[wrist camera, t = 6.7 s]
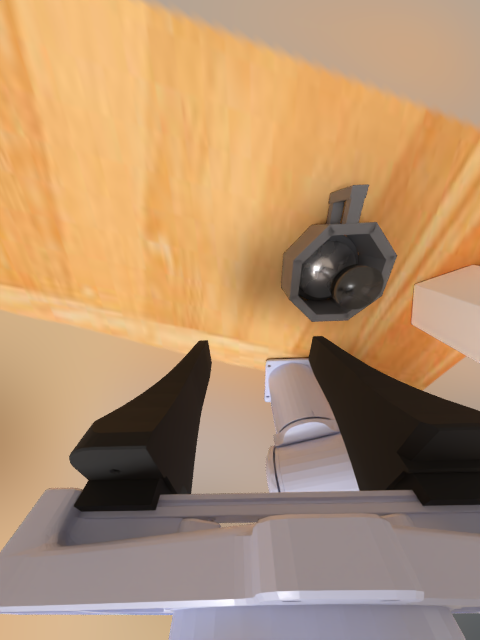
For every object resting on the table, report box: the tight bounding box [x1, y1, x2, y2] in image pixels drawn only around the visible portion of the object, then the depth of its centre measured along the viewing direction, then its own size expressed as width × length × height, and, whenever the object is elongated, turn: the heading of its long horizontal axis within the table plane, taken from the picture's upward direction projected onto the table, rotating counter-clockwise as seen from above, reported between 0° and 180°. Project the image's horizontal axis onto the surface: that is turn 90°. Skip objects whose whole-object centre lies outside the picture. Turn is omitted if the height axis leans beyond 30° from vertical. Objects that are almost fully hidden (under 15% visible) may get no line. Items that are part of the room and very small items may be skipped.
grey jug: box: [281, 185, 397, 322], centre depth 17 cm, size 12×9×4 cm
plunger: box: [299, 241, 384, 310], centre depth 16 cm, size 6×6×6 cm
